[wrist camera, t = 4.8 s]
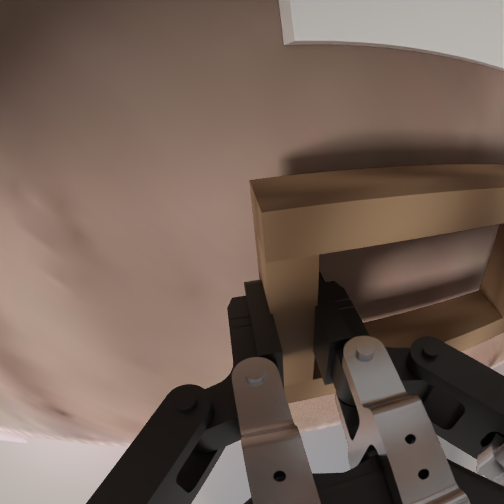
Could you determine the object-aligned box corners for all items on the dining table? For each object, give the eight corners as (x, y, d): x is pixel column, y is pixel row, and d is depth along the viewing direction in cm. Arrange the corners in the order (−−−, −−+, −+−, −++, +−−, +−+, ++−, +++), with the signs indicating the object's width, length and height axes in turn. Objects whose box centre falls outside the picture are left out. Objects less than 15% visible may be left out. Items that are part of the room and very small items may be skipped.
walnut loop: (268, 362, 15) (277, 405, 13) (249, 180, 10) (261, 212, 8) (486, 303, 16) (508, 329, 13) (526, 164, 11) (561, 184, 9)
